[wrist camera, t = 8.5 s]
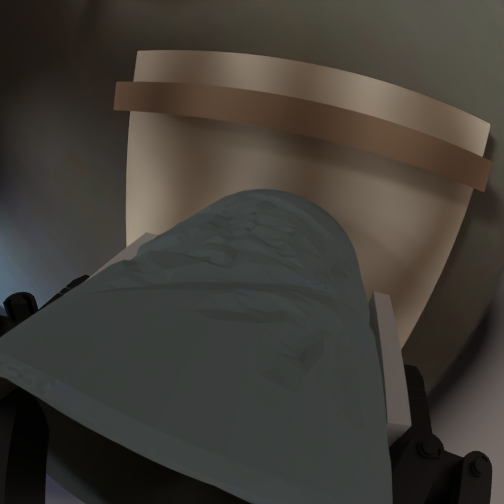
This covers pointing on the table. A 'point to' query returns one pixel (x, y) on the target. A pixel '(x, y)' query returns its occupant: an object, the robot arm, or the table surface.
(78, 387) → the grey-green cup
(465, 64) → the table surface
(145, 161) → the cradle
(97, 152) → the table surface
